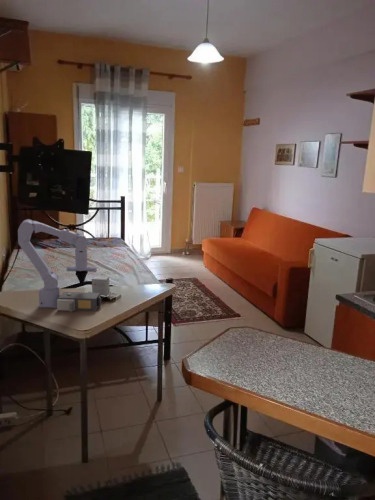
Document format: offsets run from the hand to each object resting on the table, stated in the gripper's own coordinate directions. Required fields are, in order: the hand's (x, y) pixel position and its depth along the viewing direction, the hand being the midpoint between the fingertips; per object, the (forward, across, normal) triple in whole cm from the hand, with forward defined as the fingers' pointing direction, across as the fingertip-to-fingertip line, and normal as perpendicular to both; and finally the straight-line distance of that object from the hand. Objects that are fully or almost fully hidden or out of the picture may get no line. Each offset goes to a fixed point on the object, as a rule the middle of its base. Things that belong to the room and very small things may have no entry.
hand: (82, 285), depth 203 cm
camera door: (+9, -5, -13) cm, 16 cm away
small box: (+10, +7, +11) cm, 16 cm away
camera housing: (+9, 0, -6) cm, 11 cm away
